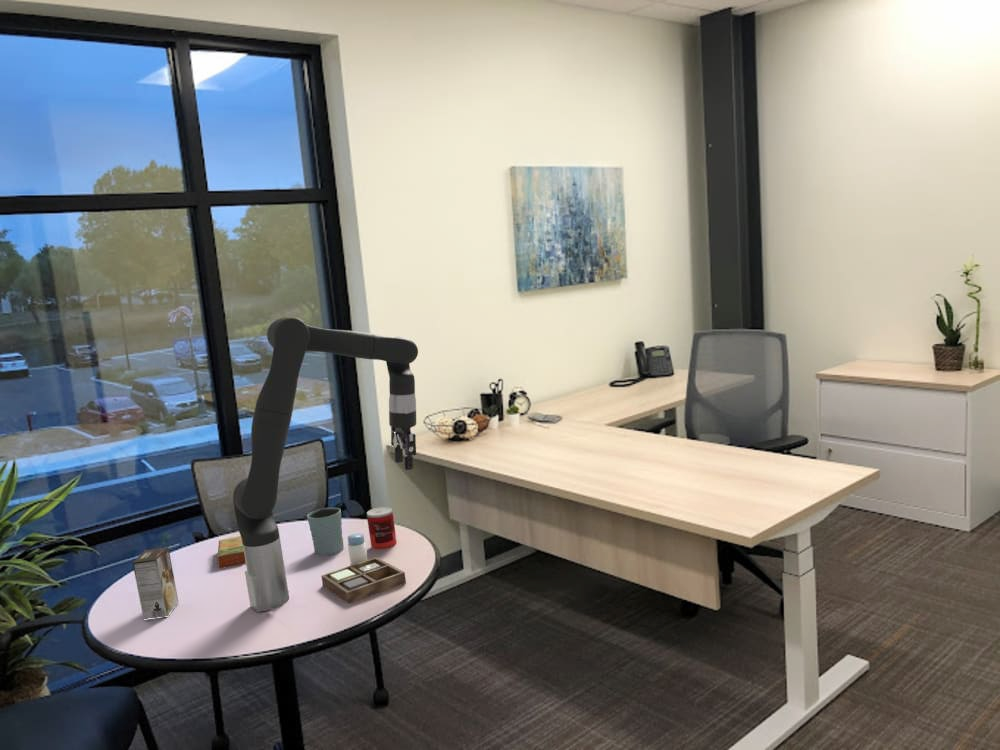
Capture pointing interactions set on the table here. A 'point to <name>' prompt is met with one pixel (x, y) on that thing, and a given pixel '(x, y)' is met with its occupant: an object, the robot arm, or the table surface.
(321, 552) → the green cup
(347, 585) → the eraser
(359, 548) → the glue stick
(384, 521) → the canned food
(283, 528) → the table surface
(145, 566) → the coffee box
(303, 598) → the table surface
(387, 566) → the organizer
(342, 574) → the note block
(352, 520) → the table surface
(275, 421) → the robot arm
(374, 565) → the grey rectangular block
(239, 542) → the carton
